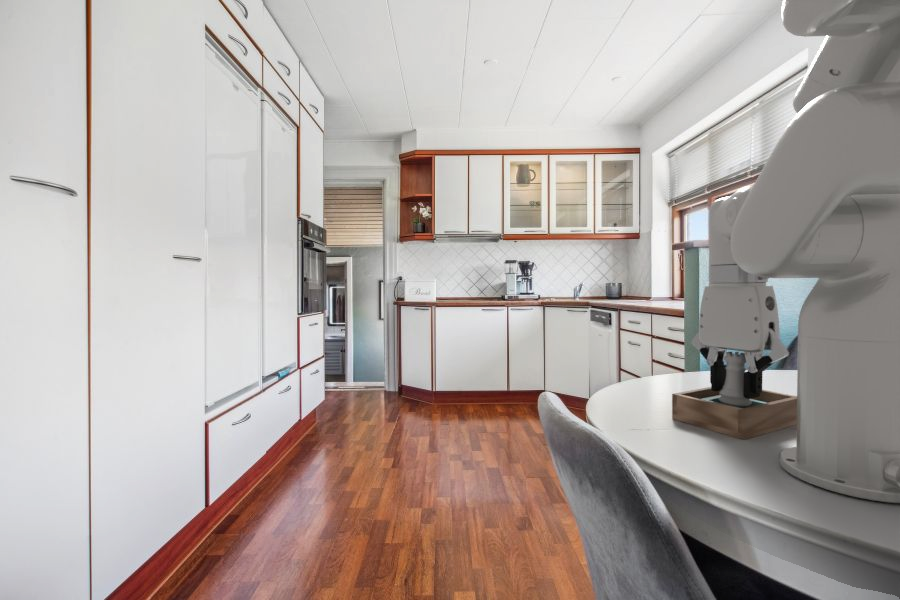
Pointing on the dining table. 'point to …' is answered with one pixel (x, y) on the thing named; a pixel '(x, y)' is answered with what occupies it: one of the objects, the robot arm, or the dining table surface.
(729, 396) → the rook chess piece
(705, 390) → the walled box
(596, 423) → the dining table surface
